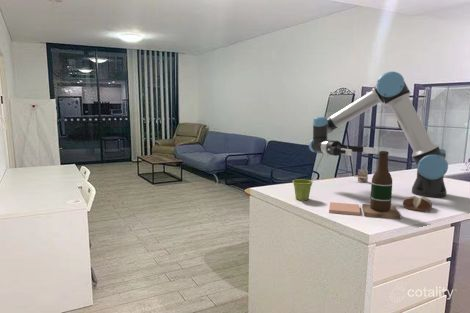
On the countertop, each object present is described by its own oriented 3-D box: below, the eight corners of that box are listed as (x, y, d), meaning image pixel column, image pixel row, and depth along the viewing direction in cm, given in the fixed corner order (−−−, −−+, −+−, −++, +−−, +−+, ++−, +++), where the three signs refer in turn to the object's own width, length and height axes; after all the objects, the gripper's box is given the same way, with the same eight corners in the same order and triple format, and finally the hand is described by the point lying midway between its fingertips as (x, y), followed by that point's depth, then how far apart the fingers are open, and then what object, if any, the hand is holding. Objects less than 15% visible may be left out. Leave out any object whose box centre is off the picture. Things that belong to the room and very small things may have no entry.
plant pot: (312, 202, 150) (313, 183, 149) (291, 201, 152) (292, 182, 151) (311, 197, 159) (312, 179, 158) (292, 196, 161) (292, 178, 160)
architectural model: (365, 183, 191) (366, 171, 190) (353, 182, 195) (354, 170, 194) (367, 182, 194) (368, 170, 193) (355, 181, 198) (356, 169, 197)
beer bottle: (381, 213, 129) (385, 152, 126) (365, 208, 136) (369, 150, 133) (394, 210, 133) (398, 151, 129) (378, 205, 139) (381, 149, 136)
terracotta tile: (358, 207, 142) (358, 204, 142) (360, 215, 131) (360, 212, 131) (330, 204, 146) (330, 202, 146) (329, 212, 135) (329, 209, 135)
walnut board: (395, 209, 138) (395, 206, 138) (400, 219, 126) (400, 215, 126) (362, 207, 142) (362, 203, 142) (364, 216, 130) (364, 212, 130)
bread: (434, 207, 142) (435, 196, 141) (427, 213, 134) (428, 202, 133) (406, 203, 150) (407, 192, 149) (398, 208, 141) (399, 197, 141)
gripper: (350, 153, 173) (383, 158, 154) (311, 156, 163) (341, 161, 144) (351, 139, 172) (383, 142, 153) (311, 141, 162) (341, 144, 143)
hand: (363, 151), depth 148 cm, fingers open, 13 cm apart
